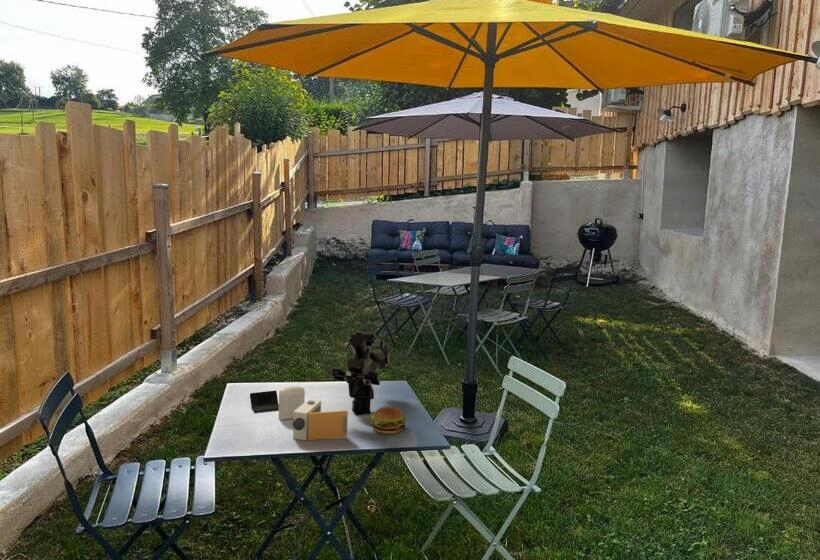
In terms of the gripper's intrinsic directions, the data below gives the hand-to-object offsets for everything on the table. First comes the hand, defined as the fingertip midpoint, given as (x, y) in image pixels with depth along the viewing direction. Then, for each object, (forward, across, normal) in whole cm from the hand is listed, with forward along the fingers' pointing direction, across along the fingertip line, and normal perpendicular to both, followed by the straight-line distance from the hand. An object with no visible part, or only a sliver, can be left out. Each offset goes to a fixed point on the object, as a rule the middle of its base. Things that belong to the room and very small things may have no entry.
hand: (350, 396), depth 234 cm
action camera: (+16, -13, 0) cm, 20 cm away
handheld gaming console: (+4, -38, +13) cm, 41 cm away
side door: (+19, -4, -2) cm, 19 cm away
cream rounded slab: (+8, -24, +9) cm, 27 cm away
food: (+7, +14, +10) cm, 19 cm away
